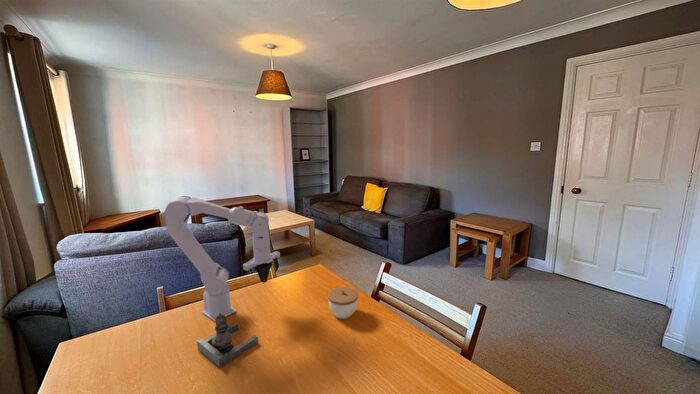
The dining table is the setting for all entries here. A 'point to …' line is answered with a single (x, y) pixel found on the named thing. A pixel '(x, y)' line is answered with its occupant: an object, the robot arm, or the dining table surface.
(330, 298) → the lidded jar
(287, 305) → the dining table surface
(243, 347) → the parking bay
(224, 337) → the weathered grey candle holder
